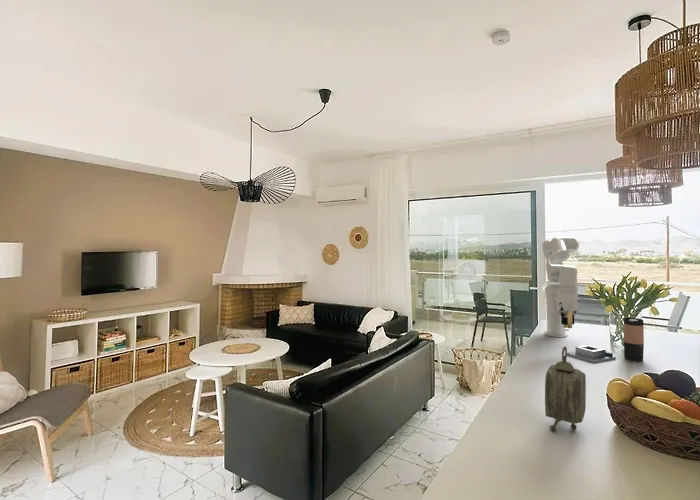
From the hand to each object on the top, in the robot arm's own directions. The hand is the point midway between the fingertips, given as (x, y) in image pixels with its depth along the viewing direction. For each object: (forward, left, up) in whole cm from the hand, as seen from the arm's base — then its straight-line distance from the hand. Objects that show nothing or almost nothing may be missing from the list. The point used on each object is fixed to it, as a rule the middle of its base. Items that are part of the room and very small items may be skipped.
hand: (567, 323), depth 182 cm
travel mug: (-19, +20, -16) cm, 32 cm away
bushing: (0, 0, -2) cm, 2 cm away
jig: (-4, +9, -15) cm, 18 cm away
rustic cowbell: (+71, +52, -16) cm, 89 cm away
